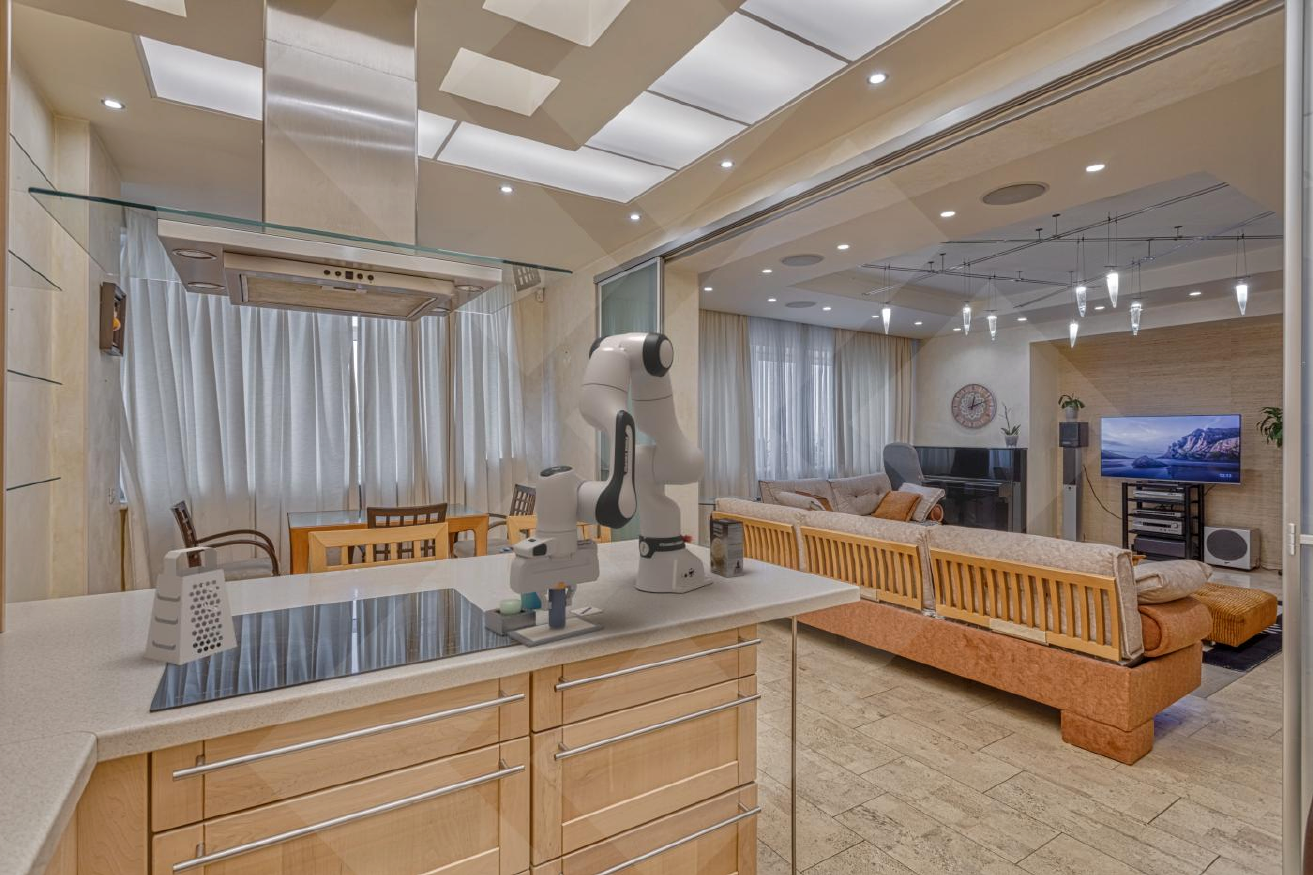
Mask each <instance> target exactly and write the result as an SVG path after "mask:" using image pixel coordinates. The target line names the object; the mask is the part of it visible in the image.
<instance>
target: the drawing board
mask: <svg viewBox="0 0 1313 875" xmlns="http://www.w3.org/2000/svg"><path fill="white" fill-rule="evenodd" d="M604 629H605V625H603V624H602V623H601V624H600V623H598V622H596V621H593V620H591V619H589V618H587V617H586V618H585V616H583V617H581V616H578V615H576V616H575V615H574V616H571V617H567V618H566V625H565V626H563V627H557V628H554V627H549V622H545V623H541V624H540V623H539V624H536V625H535V626H531V627H527V628H522V629H518V630H513V631H509V632H506V635H505V636H507V635H508V637H509V638H511V639H513V640H515V641H516V642H518V643H520V644H522V645H524V646H525V647H527V648H533V647H537V646H541V645H545V644H548V643H553V642H556V641H557V642H558V641H560V640H563V639H569V638H573V637H575V636H576V637H577V636H579V635H585V634H588V633H591V632H596V631H600V630H604Z"/></svg>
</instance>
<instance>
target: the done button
mask: <svg viewBox="0 0 1313 875" xmlns="http://www.w3.org/2000/svg"><path fill="white" fill-rule="evenodd" d="M521 606H522V603H521V599H517V598H510V599H504V600H503V599H502V600H501V601H500V602H499V608H500V614H501V615H503V616H509V615H514V614H519V613H521Z"/></svg>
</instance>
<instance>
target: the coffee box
mask: <svg viewBox="0 0 1313 875" xmlns="http://www.w3.org/2000/svg"><path fill="white" fill-rule="evenodd" d="M709 539H710V540H709V554H710V555H709V565H710V566H709V569H710V570H709V571H710V573H712V574H716V575H719V576H721V577H724V578H734V577H740V576H744V521H741V520H736V519H732V518H727V517H723V518H722V517H721V518H713V519H709Z"/></svg>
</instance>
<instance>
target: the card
mask: <svg viewBox="0 0 1313 875" xmlns="http://www.w3.org/2000/svg"><path fill="white" fill-rule="evenodd" d="M603 612H604V610H603V609H602V610H601V609H599V608H597V607H594V606H592V605H591V606H586V607H581V608H577V609H572V610H570V611H569V613H571V614H574V615H576V616H581V617H587V616H591V615H592V616H593V615H597V614H600V613H603Z"/></svg>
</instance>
